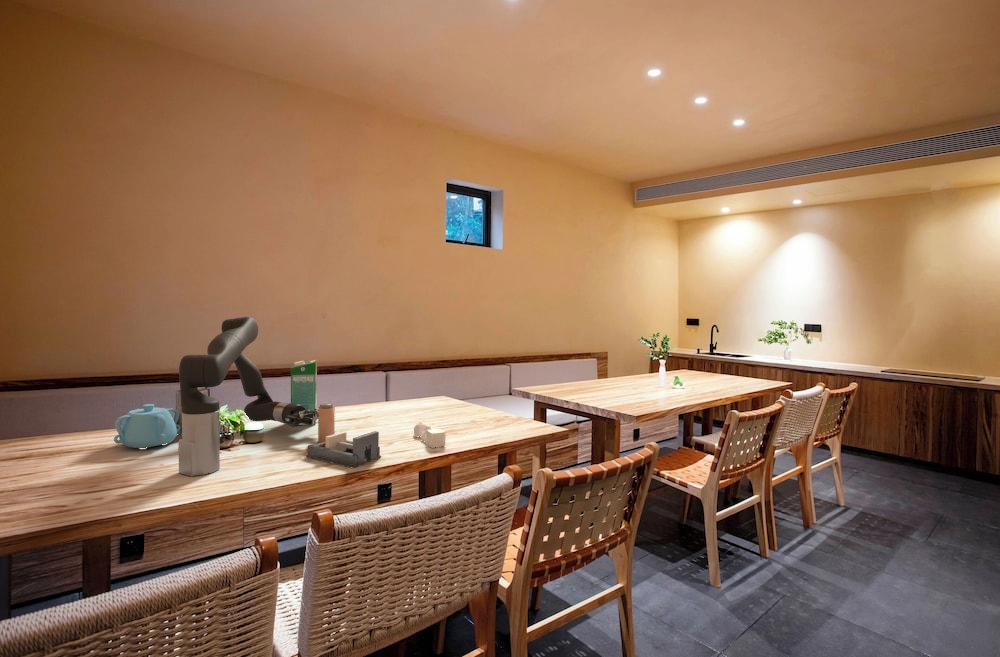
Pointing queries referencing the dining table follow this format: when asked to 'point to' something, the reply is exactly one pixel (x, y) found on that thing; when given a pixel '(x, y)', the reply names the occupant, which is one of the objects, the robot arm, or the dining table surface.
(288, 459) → the dining table surface
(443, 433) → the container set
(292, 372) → the milk carton
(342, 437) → the pusher
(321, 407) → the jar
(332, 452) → the grey holder
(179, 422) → the coffee box
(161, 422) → the decorative pot
